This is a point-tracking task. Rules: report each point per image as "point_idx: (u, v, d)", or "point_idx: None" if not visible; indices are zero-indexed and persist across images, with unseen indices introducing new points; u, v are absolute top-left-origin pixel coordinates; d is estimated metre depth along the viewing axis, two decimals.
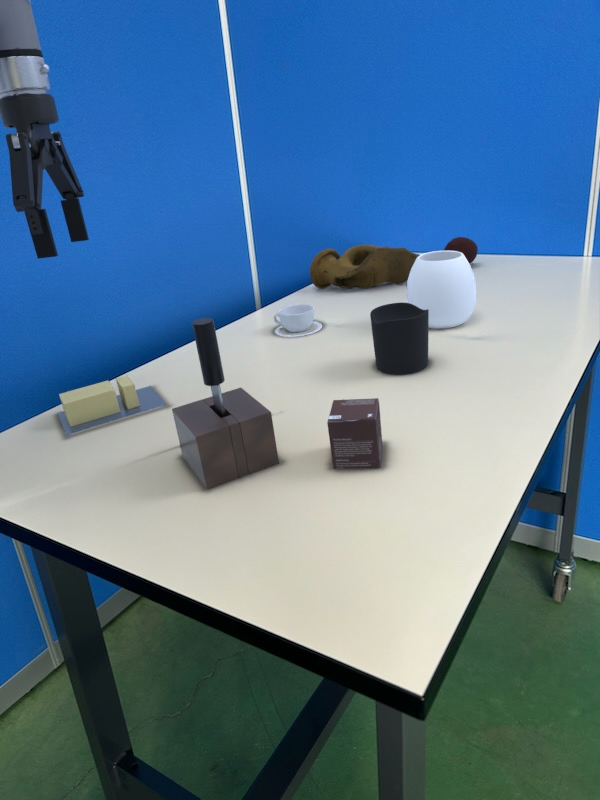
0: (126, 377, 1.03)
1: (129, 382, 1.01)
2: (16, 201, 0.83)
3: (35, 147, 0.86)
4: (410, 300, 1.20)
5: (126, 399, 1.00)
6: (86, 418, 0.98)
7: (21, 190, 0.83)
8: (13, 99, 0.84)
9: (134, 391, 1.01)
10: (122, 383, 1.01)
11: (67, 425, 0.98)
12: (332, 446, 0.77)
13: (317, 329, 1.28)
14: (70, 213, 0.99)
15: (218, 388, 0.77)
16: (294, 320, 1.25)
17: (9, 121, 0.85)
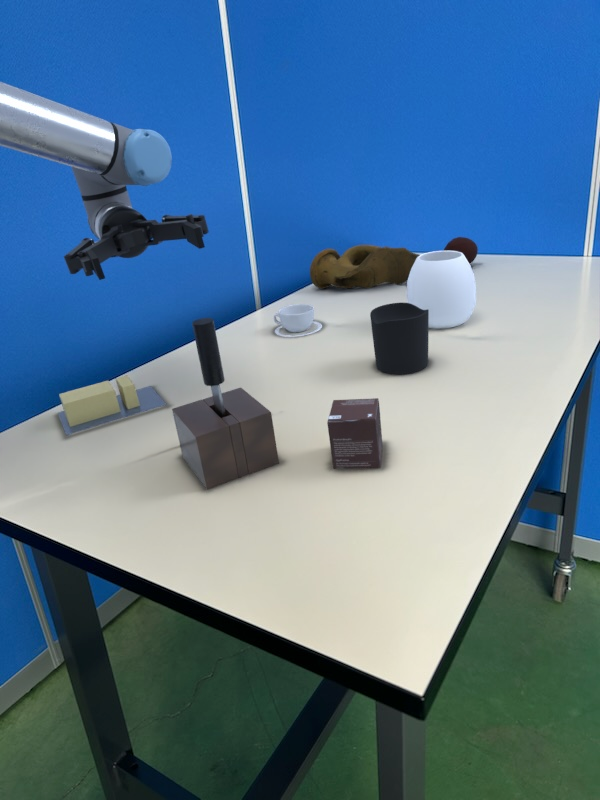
0: (126, 377, 1.03)
1: (129, 382, 1.01)
2: None
3: None
4: (410, 300, 1.20)
5: (126, 399, 1.00)
6: (86, 418, 0.98)
7: None
8: None
9: (134, 391, 1.01)
10: (122, 383, 1.01)
11: (67, 425, 0.98)
12: (332, 446, 0.77)
13: (317, 329, 1.28)
14: None
15: (218, 388, 0.77)
16: (294, 320, 1.25)
17: None
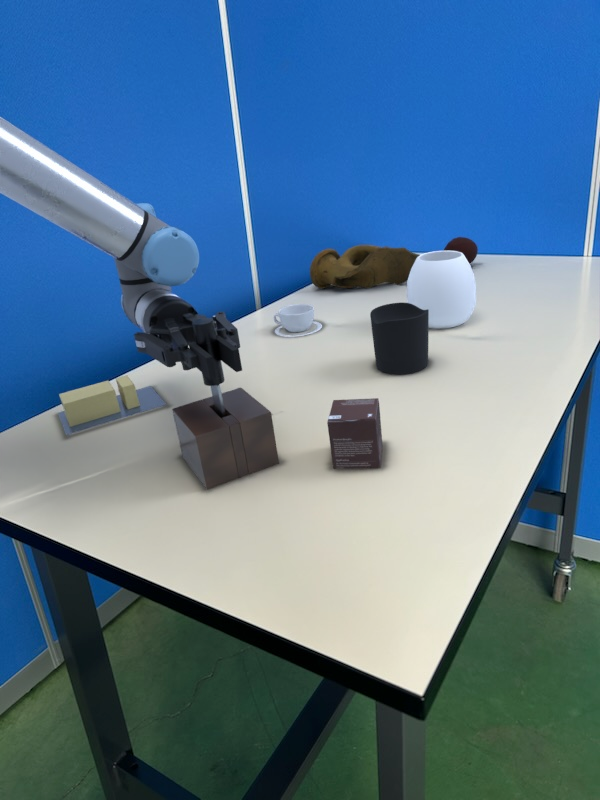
0: (126, 377, 1.03)
1: (129, 382, 1.01)
2: None
3: None
4: (410, 300, 1.20)
5: (126, 399, 1.00)
6: (86, 418, 0.98)
7: None
8: None
9: (134, 391, 1.01)
10: (122, 383, 1.01)
11: (67, 425, 0.98)
12: (332, 446, 0.77)
13: (317, 329, 1.28)
14: None
15: (218, 388, 0.77)
16: (294, 320, 1.25)
17: None
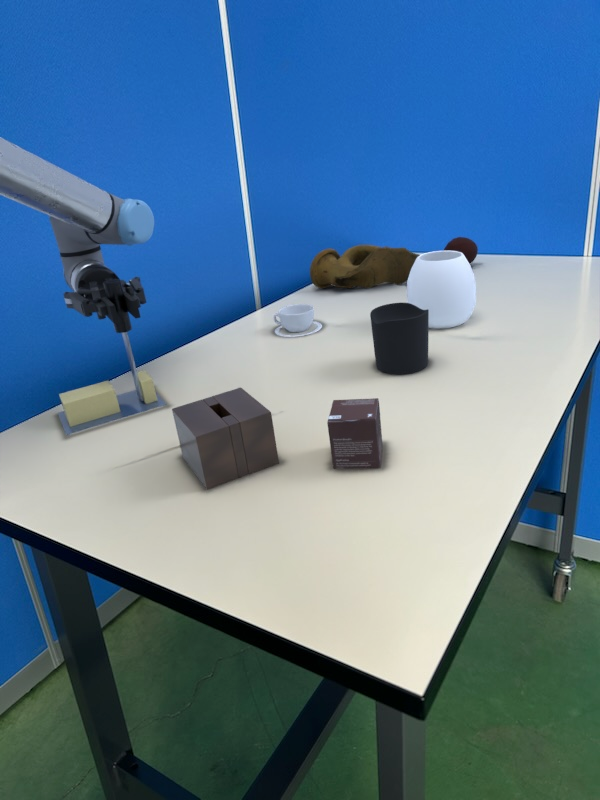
0: (144, 372, 1.04)
1: (147, 377, 1.02)
2: None
3: None
4: (410, 300, 1.20)
5: (144, 394, 1.01)
6: (86, 418, 0.98)
7: None
8: None
9: (152, 386, 1.02)
10: (140, 378, 1.02)
11: (67, 425, 0.98)
12: (332, 446, 0.77)
13: (317, 329, 1.28)
14: None
15: (125, 334, 0.98)
16: (294, 320, 1.25)
17: None
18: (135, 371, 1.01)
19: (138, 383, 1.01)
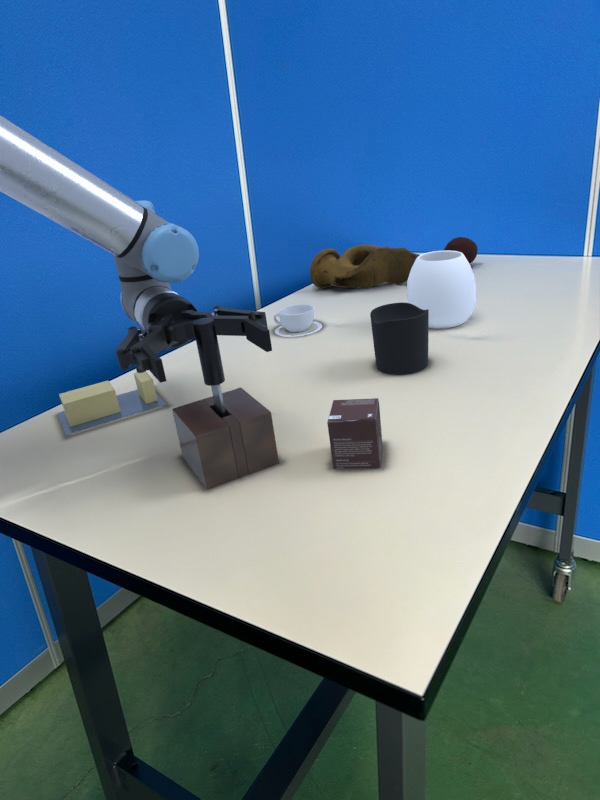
0: (144, 372, 1.04)
1: (147, 377, 1.02)
2: None
3: None
4: (410, 300, 1.20)
5: (144, 394, 1.01)
6: (86, 418, 0.98)
7: None
8: None
9: (152, 386, 1.02)
10: (140, 378, 1.02)
11: (67, 425, 0.98)
12: (332, 446, 0.77)
13: (317, 329, 1.28)
14: None
15: (218, 388, 0.77)
16: (294, 320, 1.25)
17: None
18: None
19: None
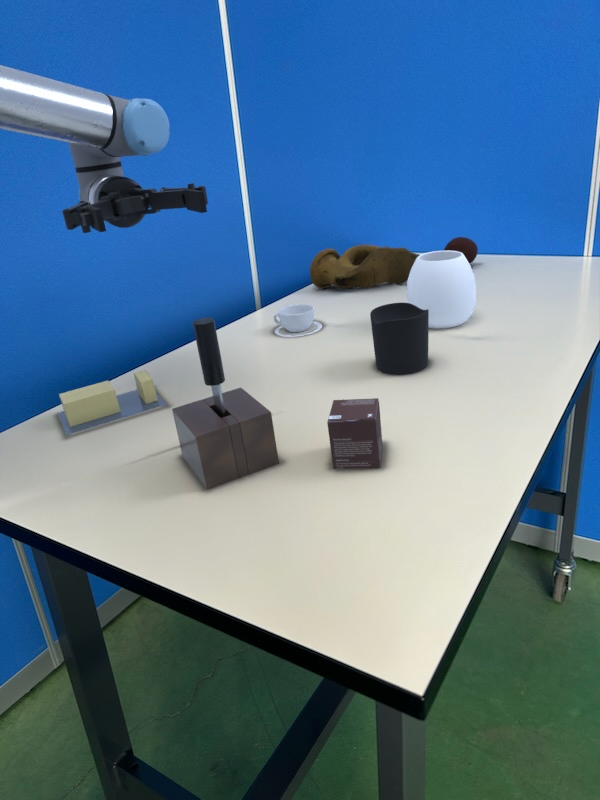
0: (144, 372, 1.04)
1: (147, 377, 1.02)
2: None
3: None
4: (410, 300, 1.20)
5: (144, 394, 1.01)
6: (86, 418, 0.98)
7: None
8: None
9: (152, 386, 1.02)
10: (140, 378, 1.02)
11: (67, 425, 0.98)
12: (332, 446, 0.77)
13: (317, 329, 1.28)
14: None
15: (219, 388, 0.77)
16: (294, 320, 1.25)
17: None
18: None
19: None
